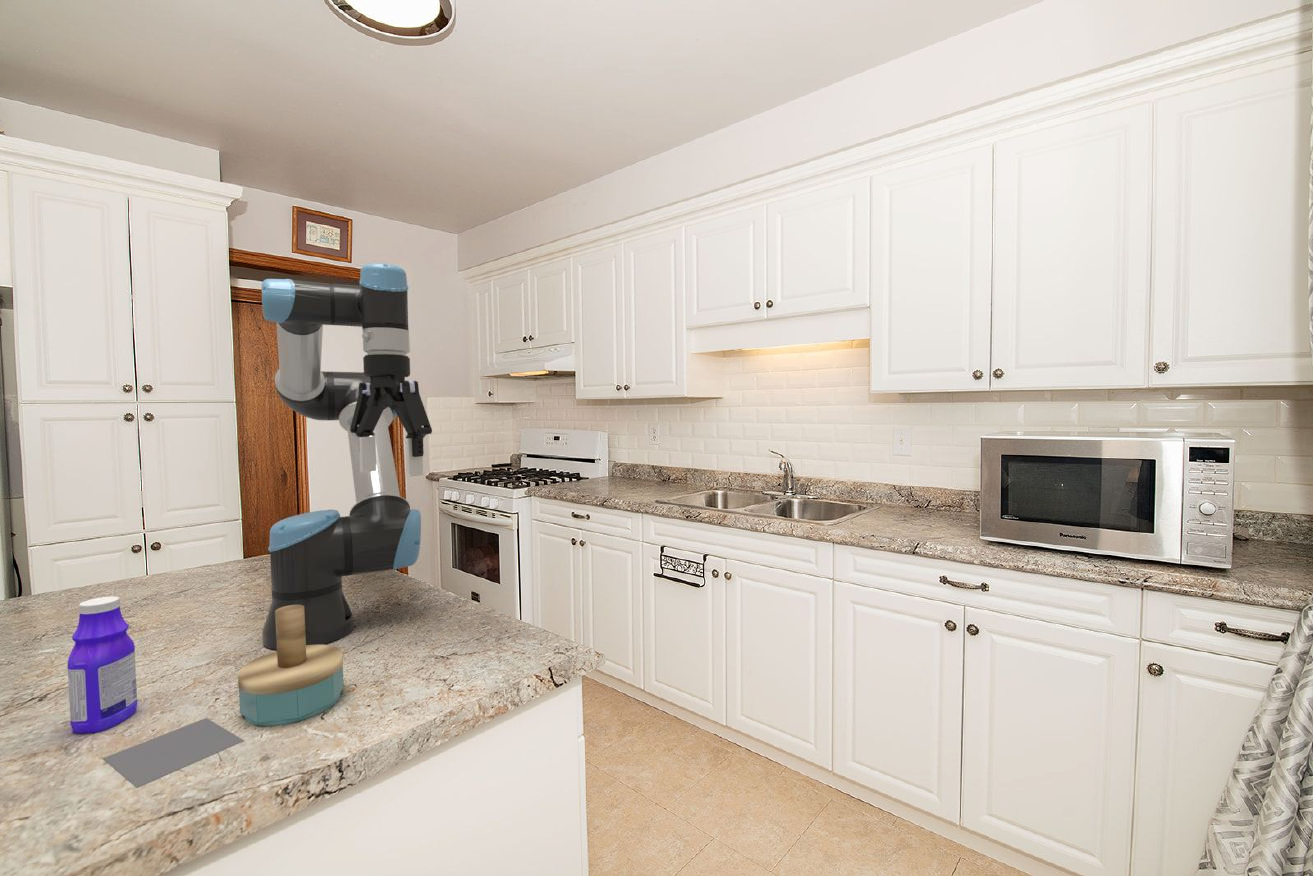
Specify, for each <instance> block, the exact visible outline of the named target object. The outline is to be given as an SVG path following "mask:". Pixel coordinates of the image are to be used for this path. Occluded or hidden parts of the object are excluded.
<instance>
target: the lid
mask: <svg viewBox="0 0 1313 876" xmlns="http://www.w3.org/2000/svg"><path fill="white" fill-rule="evenodd" d="M275 620H276V641H277V650H275V651H273V652H270V653H267V654H264V655H261V656H259V657H256V658H255V659H252V660H251V661H249V662H247V663H246V664H244V665H243V666H242V667H241V668H240V669H239V670H238V672H237V684H238V689H239V688H240V690H242V691H244V692H246V693H250V694H276V693H283V692H289V691H294V690H298V689H301V688H305V687H308V686H311V685H314V684H316V683H319V682H321V681H323V680H325V679H327V678H329V677H331V676H333V675H334V674H335V673H337V672H338V671H339V670H340V669H341V668H342V666H343V667H344V655H343V653H344V652H343V650H342V649H341V648H339V647H338V646H335V645H331V644H330V645H329V644H322V645H306V635H305V613H304V606H303V605H289V606H284V607H281V608H279V609H277V610H275Z"/></svg>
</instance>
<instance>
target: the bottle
mask: <svg viewBox="0 0 1313 876" xmlns="http://www.w3.org/2000/svg"><path fill="white" fill-rule="evenodd" d="M78 607H79V609H78V615H79V618H78V623H77V627H76V630H75V632H74V633H73V634H72V636H71V639H72V640H73V642H74V645H73V647H72V649H71V651H70V654H69V656H68V660H67V678H68V697H69V698H68V700H69V715H70V716H69V717H70V721H69V723H70V727H71V729H72V731H73V732H74V733H76V734H90V733H91V734H93V733H98V732H102V731H105V730H109V729H111V728H113V727H115V726H117V725H119V724H121V723H122V722H124V721H126V720H127V719H129V718H130V717H132V715H134V713H135V712H136V710H137V707H138V691H137V690H138V688H137V671H136V670H137V669H136V667H137V666H136V645H135V643H134V640H133V639H132V638H131V637H130V635H129V634H128V633H127V631H128V629H129V628H130V626H129V624H128V622H126V620H125V619H124V617H123V615H122V612H121V604H120V597H119V596H103V597H96V598H93V599H89V600H85V601H82V602H80V603H79V605H78Z"/></svg>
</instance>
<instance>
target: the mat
mask: <svg viewBox="0 0 1313 876" xmlns="http://www.w3.org/2000/svg"><path fill="white" fill-rule="evenodd" d="M243 742H245V739H242V738H241V737H239V736H237V735H236V734H234V733H233V732H231V731H229V730H227V729H226V728H224V727H222V726H221V725H219V724H217V723H216V722H214V721H213V720H211V719H210V718H208V717H205V718H202V719H200V720H197V721H195V722H192V723H190V724H187V725H185V726H182V727H178V728H177V729H174V730H172V731H169V732H167V733H164V734H162V735H159V736H156V737H153V738H151V739H149V740H146V741H143V742H141V743H138V744H135V745H133V746H130V747H127V748H126V749H123V750H120V751H117V752H115V753H112V754H109V755H108V756H105V757H103V758H102V760H104V761H105V763H107V764H108V765H109V766H110V767H112V768H113V769H114V770H116V772H118V773H119V774H120V775H121V776H122V777H124V778H125V779H126V780H127V781H128V782H129V783H130V784H131V785H132V786H134V787H135V788H140V787H143V786H145V785H147V784H150V783H151V782H154V781H156V780H159V779H160V778H163V777H165V776H168V775H170V774H173V773H174V772H176V771H177V772H178V771H179V770H181V769H184V768H186V767H189V766H190V765H193V764H195V763H197V762H199V761H202V760H204V759H207V758H208V757H211V756H213V755H215V754H218V753H220V752H222V751H225V750H227V749H229V748H231V747H234V746H237V745H239V744H240V743H243Z"/></svg>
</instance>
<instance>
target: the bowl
mask: <svg viewBox="0 0 1313 876" xmlns="http://www.w3.org/2000/svg"><path fill="white" fill-rule="evenodd" d="M344 686H345V684H344V665H343V666H342V668H341V669H340V670H339V671H338V672H337V673H335V674H334V675H333V676H331V677H329V678H327V679H325V680H323V681H321V682H319V683H316V684H314V685H311V686H308V687H305V688H301V689H298V690H294V691H289V692H283V693H276V694H250V693H246V692H244V691H242V690H240V688H239V687H238V694H239V695H238V697H239V700H238V701H239V714H241V715H243V716H244V720H245V721H246V722H247V723H249V724H251V725H254V726H260V727H270V726H271V727H272V726H273V727H274V726H283V725H287V724H288V725H289V724H292V723H297V722H300V721H303V720H306V719H309V718H312V717H314V716H317V715H319V714H321V713H323V712H325V711H327V710H328V709H330V708H331V707H333V706H334V705H335V704H336V703H337V702H338V701H339V699H340V698H341V695H342V694H341V692H342V690H343V689H344Z"/></svg>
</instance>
